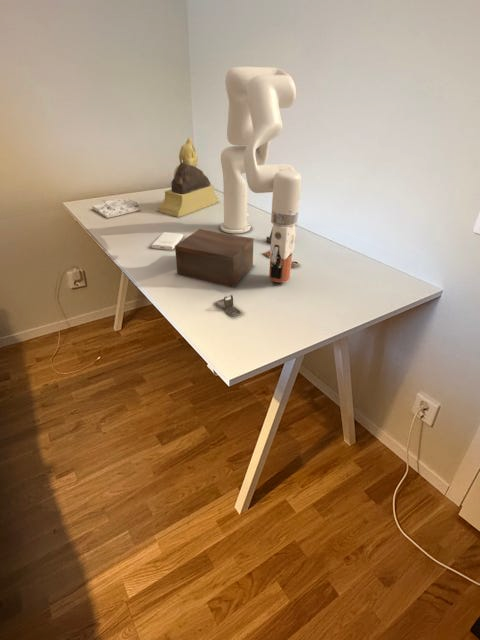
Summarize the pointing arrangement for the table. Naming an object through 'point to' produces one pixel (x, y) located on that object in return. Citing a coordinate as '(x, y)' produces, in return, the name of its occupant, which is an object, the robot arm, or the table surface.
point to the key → (291, 262)
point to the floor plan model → (116, 207)
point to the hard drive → (167, 241)
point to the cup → (283, 269)
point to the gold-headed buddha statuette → (188, 186)
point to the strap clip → (228, 306)
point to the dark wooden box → (214, 257)
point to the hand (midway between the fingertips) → (279, 272)
